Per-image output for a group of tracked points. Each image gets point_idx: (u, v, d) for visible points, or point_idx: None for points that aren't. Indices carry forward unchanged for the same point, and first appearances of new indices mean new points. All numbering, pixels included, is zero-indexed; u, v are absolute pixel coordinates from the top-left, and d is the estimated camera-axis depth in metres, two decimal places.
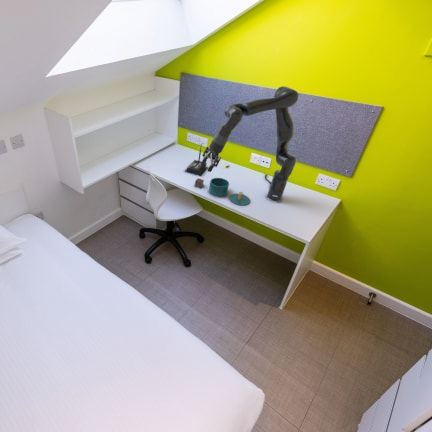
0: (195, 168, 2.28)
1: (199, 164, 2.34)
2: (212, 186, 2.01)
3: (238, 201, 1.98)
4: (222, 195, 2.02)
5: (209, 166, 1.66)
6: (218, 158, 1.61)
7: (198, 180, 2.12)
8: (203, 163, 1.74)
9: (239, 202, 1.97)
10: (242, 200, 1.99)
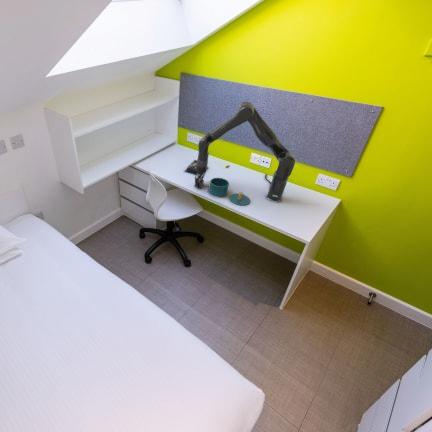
0: (195, 168, 2.28)
1: None
2: (212, 186, 2.01)
3: (238, 201, 1.98)
4: (222, 195, 2.02)
5: None
6: (196, 178, 2.05)
7: None
8: None
9: (239, 202, 1.97)
10: (242, 200, 1.99)
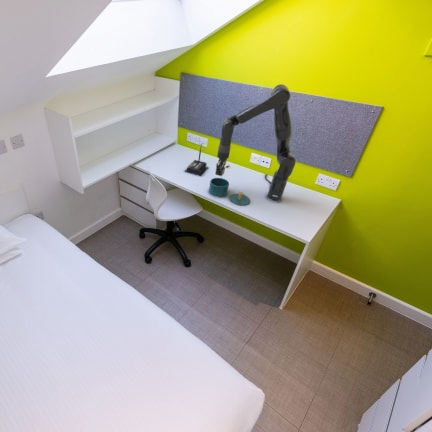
0: (195, 168, 2.28)
1: (199, 164, 2.34)
2: (212, 186, 2.01)
3: (238, 201, 1.98)
4: (222, 195, 2.02)
5: None
6: (217, 165, 1.90)
7: None
8: None
9: (239, 202, 1.97)
10: (242, 200, 1.99)
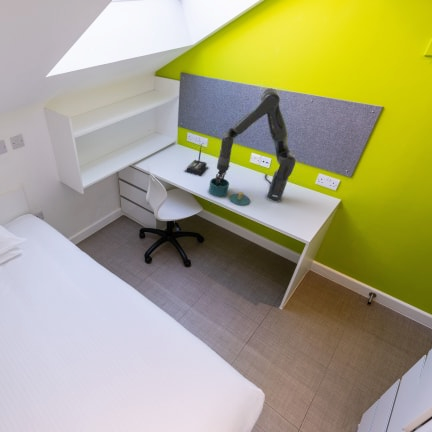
0: (195, 168, 2.28)
1: (199, 164, 2.34)
2: (212, 186, 2.01)
3: (238, 201, 1.98)
4: (222, 195, 2.02)
5: (216, 182, 2.00)
6: (217, 175, 1.94)
7: None
8: (221, 180, 2.06)
9: (239, 202, 1.97)
10: (242, 200, 1.99)
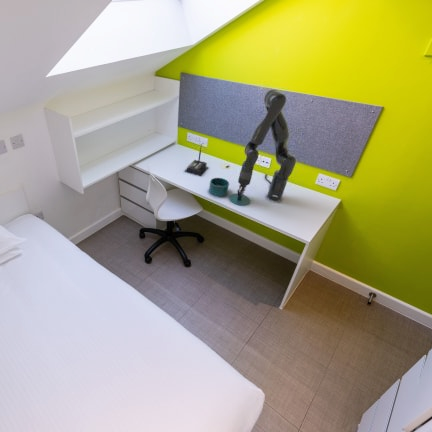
0: (195, 168, 2.28)
1: (199, 164, 2.34)
2: (212, 186, 2.01)
3: (238, 201, 1.98)
4: (222, 195, 2.02)
5: (238, 195, 1.98)
6: (239, 191, 1.91)
7: None
8: None
9: (239, 202, 1.97)
10: (242, 200, 1.99)
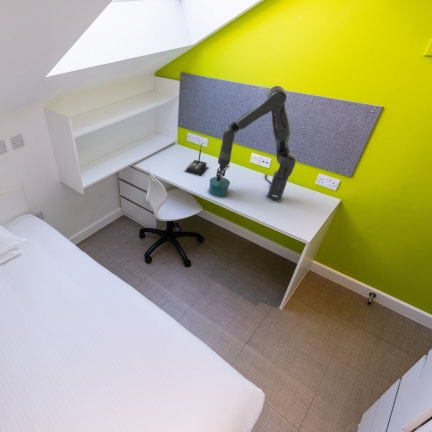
0: (195, 168, 2.28)
1: (199, 164, 2.34)
2: (212, 186, 2.01)
3: (218, 183, 2.00)
4: (222, 195, 2.02)
5: None
6: (218, 170, 1.91)
7: None
8: (222, 174, 2.03)
9: (219, 184, 1.99)
10: (222, 182, 2.01)
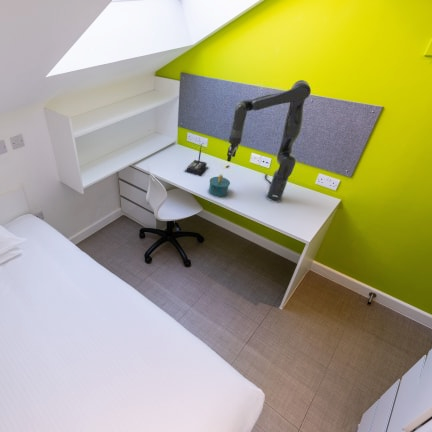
0: (195, 168, 2.28)
1: (199, 164, 2.34)
2: (212, 186, 2.01)
3: (218, 183, 2.00)
4: (222, 195, 2.02)
5: (228, 156, 1.91)
6: (229, 149, 1.85)
7: None
8: (233, 155, 1.97)
9: (219, 184, 1.99)
10: (222, 182, 2.01)
